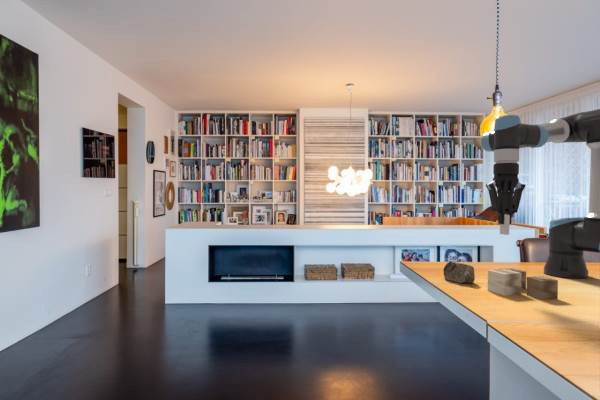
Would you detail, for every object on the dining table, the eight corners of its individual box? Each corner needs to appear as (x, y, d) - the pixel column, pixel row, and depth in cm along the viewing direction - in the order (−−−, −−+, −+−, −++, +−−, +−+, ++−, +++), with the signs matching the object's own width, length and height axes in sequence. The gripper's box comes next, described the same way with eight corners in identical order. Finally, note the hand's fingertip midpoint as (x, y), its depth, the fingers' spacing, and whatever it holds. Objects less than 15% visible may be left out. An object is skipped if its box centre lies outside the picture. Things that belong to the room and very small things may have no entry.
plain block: (504, 289, 137) (504, 269, 137) (521, 294, 131) (521, 273, 130) (487, 290, 135) (487, 270, 135) (504, 296, 128) (504, 274, 128)
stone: (467, 284, 143) (468, 265, 143) (439, 279, 153) (440, 260, 153) (479, 283, 147) (480, 264, 147) (451, 277, 157) (451, 259, 157)
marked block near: (514, 284, 144) (514, 267, 144) (526, 288, 138) (526, 270, 138) (498, 285, 143) (499, 268, 143) (510, 289, 137) (510, 271, 137)
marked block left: (543, 294, 130) (543, 275, 130) (557, 299, 124) (557, 279, 124) (526, 295, 130) (526, 276, 129) (540, 300, 124) (540, 280, 123)
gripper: (516, 164, 137) (514, 233, 138) (481, 163, 136) (479, 233, 136) (532, 162, 130) (530, 235, 130) (494, 161, 128) (493, 235, 128)
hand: (504, 234), depth 133 cm, fingers closed
